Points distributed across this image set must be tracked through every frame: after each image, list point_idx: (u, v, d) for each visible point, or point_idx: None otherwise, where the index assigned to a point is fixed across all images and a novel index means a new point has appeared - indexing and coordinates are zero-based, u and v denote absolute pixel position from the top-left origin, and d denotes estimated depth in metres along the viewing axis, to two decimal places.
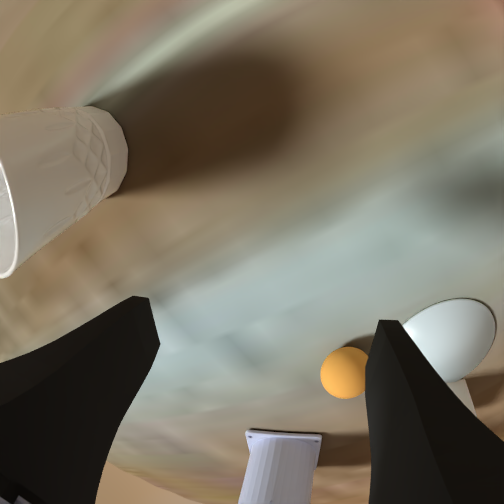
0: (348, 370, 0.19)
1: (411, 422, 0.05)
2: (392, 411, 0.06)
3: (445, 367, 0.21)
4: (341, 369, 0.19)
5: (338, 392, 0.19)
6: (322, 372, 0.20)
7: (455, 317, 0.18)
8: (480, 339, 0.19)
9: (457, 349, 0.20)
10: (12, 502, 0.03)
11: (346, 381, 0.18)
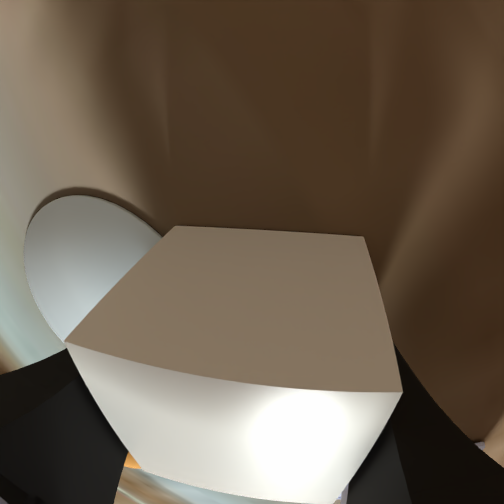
0: None
1: None
2: None
3: None
4: None
5: (126, 466, 0.13)
6: None
7: (49, 296, 0.13)
8: (63, 235, 0.11)
9: (89, 281, 0.11)
10: None
11: None
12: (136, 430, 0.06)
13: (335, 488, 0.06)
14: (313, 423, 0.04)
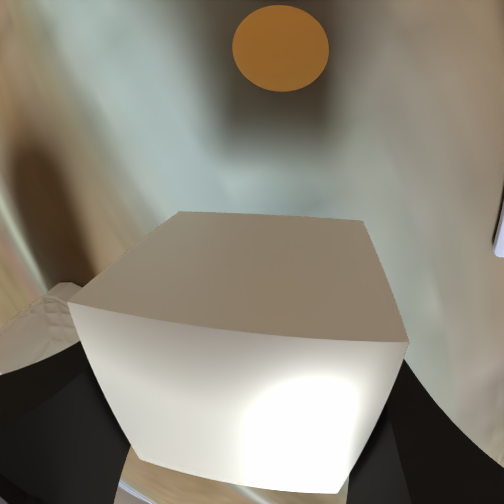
0: (236, 46, 0.10)
1: (383, 423, 0.05)
2: None
3: None
4: (238, 58, 0.10)
5: (278, 54, 0.09)
6: (268, 88, 0.11)
7: None
8: None
9: None
10: None
11: (248, 45, 0.09)
12: (134, 405, 0.06)
13: (340, 472, 0.06)
14: (319, 383, 0.05)
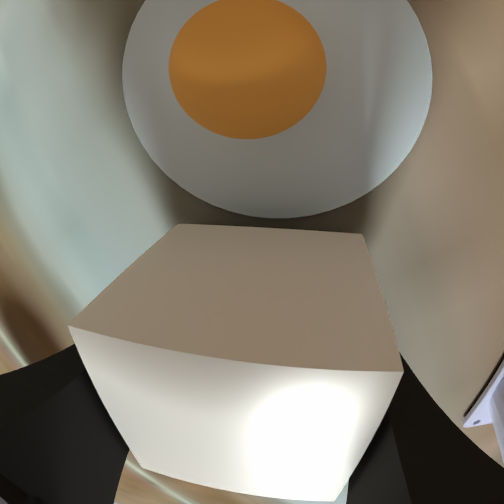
0: None
1: (382, 423, 0.05)
2: None
3: (331, 34, 0.07)
4: None
5: None
6: None
7: (162, 68, 0.08)
8: None
9: None
10: None
11: None
12: (136, 421, 0.06)
13: (337, 482, 0.06)
14: (315, 407, 0.05)
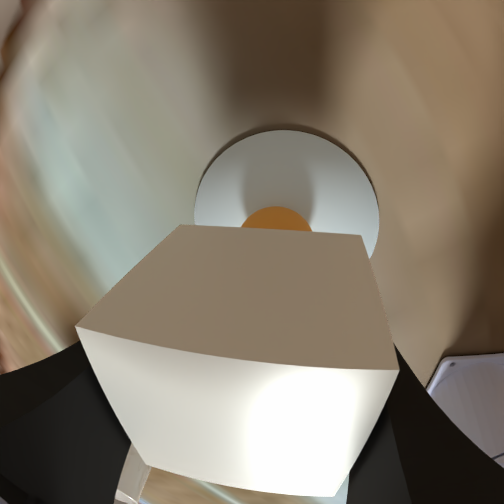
0: None
1: (382, 423, 0.05)
2: None
3: (321, 211, 0.16)
4: None
5: None
6: None
7: (221, 221, 0.17)
8: (266, 161, 0.15)
9: (282, 200, 0.16)
10: None
11: None
12: (141, 418, 0.06)
13: (336, 478, 0.06)
14: (315, 403, 0.05)
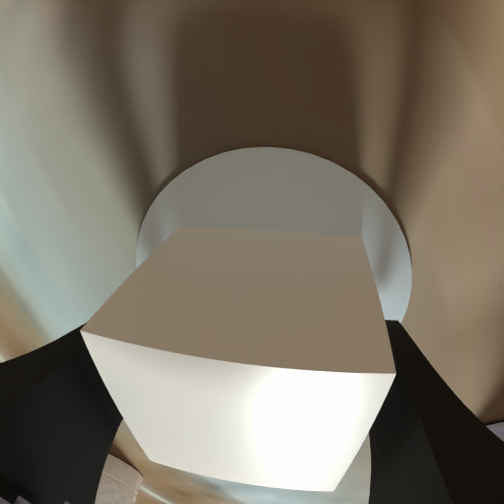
0: None
1: (411, 422, 0.05)
2: (392, 411, 0.06)
3: None
4: None
5: None
6: None
7: None
8: (234, 199, 0.09)
9: None
10: (12, 502, 0.03)
11: None
12: (146, 417, 0.06)
13: (335, 474, 0.06)
14: (314, 404, 0.05)
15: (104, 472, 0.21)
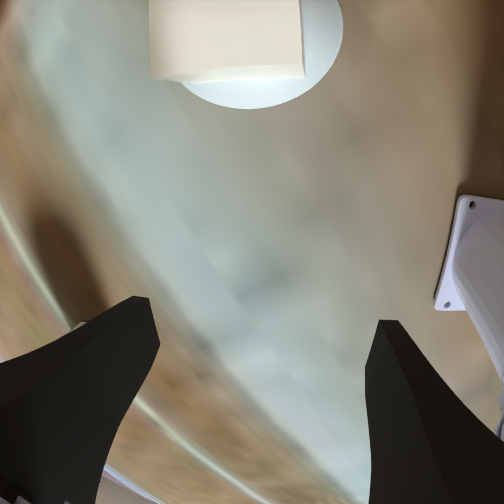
0: None
1: (411, 422, 0.05)
2: (392, 411, 0.06)
3: None
4: None
5: None
6: None
7: None
8: None
9: None
10: (12, 502, 0.03)
11: None
12: (167, 4, 0.09)
13: (293, 25, 0.09)
14: None
15: None
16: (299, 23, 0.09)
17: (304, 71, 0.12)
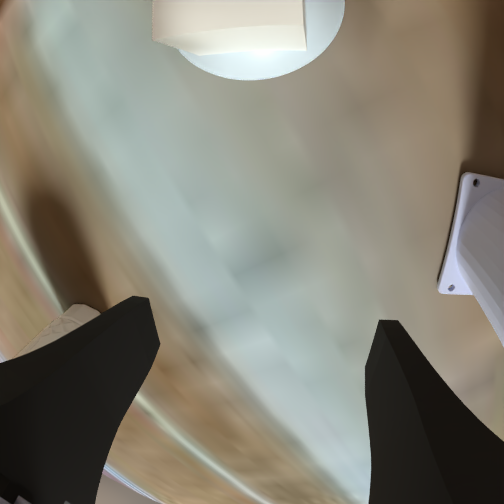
0: None
1: (411, 422, 0.05)
2: (392, 411, 0.06)
3: None
4: None
5: None
6: None
7: None
8: None
9: None
10: (12, 502, 0.03)
11: None
12: None
13: None
14: None
15: (78, 322, 0.23)
16: None
17: (305, 39, 0.11)
